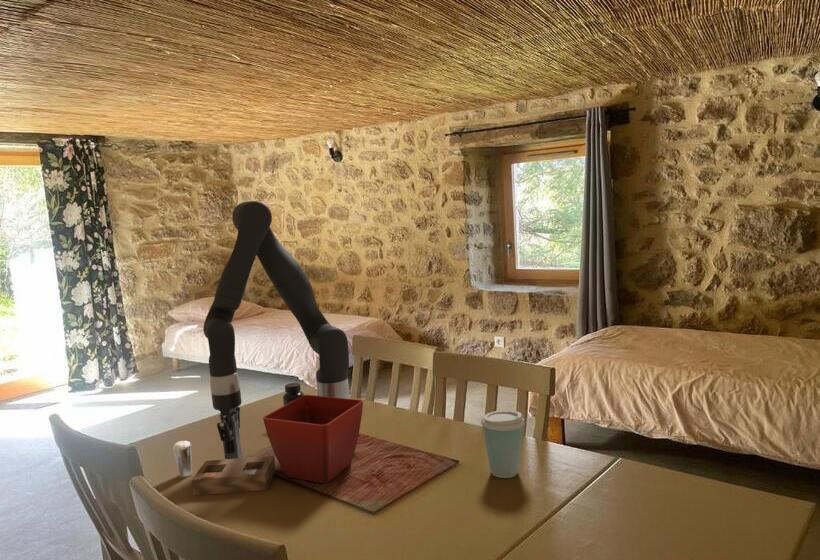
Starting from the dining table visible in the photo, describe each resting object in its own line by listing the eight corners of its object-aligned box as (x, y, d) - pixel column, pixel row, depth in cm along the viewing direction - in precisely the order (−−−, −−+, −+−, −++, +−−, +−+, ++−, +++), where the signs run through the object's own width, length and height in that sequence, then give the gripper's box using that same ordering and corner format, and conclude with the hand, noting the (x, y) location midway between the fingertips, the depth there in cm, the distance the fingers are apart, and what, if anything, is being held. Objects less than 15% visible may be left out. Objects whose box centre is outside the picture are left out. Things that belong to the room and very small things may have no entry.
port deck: (275, 470, 160) (274, 454, 160) (266, 489, 150) (264, 473, 149) (207, 475, 160) (205, 459, 160) (193, 495, 149) (191, 478, 149)
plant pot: (369, 459, 163) (364, 399, 161) (331, 492, 146) (325, 425, 144) (310, 451, 171) (304, 394, 169) (267, 481, 154) (260, 418, 152)
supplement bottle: (286, 418, 200) (282, 382, 199) (307, 415, 201) (303, 380, 199) (284, 425, 193) (280, 389, 192) (305, 423, 194) (302, 386, 193)
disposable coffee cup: (474, 475, 150) (471, 416, 148) (499, 459, 157) (496, 403, 155) (511, 486, 142) (508, 425, 140) (535, 469, 150) (532, 411, 148)
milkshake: (191, 478, 159) (187, 442, 157) (173, 478, 160) (168, 442, 159) (200, 471, 163) (196, 435, 162) (182, 470, 164) (178, 435, 163)
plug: (242, 457, 169) (237, 416, 168) (238, 463, 166) (234, 421, 164) (229, 458, 169) (224, 417, 168) (225, 464, 166) (220, 422, 164)
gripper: (232, 396, 158) (239, 459, 160) (246, 380, 172) (252, 438, 174) (203, 399, 158) (211, 462, 160) (219, 382, 172) (226, 440, 174)
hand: (232, 449), depth 167 cm, fingers closed on plug, 3 cm apart
